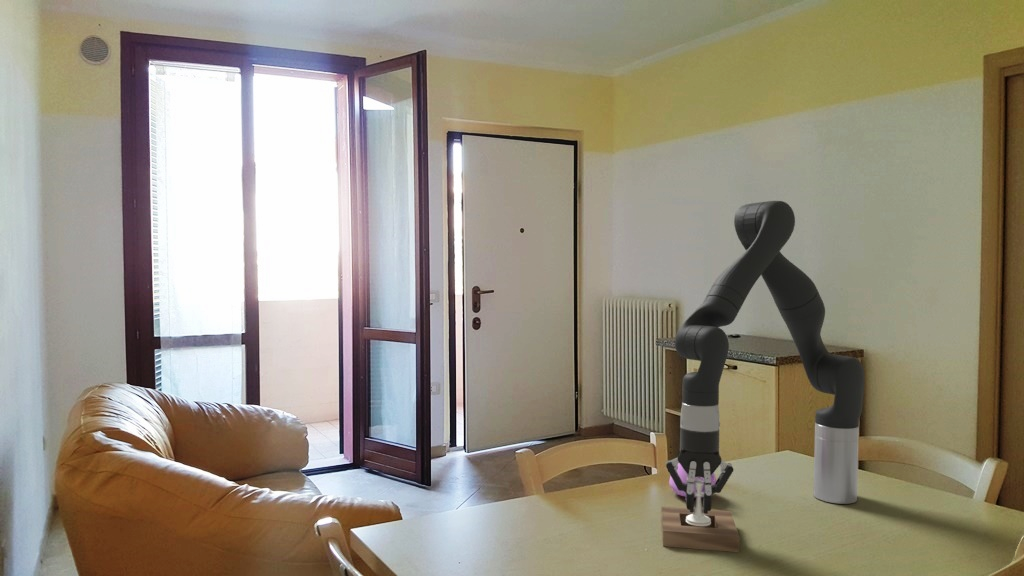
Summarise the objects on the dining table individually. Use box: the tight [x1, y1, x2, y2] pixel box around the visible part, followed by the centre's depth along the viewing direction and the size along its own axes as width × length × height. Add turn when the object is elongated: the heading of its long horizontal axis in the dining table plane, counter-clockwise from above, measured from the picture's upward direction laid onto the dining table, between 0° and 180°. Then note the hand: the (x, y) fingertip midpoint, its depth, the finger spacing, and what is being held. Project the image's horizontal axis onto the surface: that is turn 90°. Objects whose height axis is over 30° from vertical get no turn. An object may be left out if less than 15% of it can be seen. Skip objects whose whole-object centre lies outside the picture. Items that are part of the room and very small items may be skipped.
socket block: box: [660, 506, 740, 553], centre depth 143 cm, size 14×14×3 cm
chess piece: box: [686, 477, 711, 526], centre depth 143 cm, size 5×5×10 cm
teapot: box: [668, 463, 717, 501], centre depth 167 cm, size 10×15×9 cm
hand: (698, 511), depth 143 cm, fingers closed on chess piece
